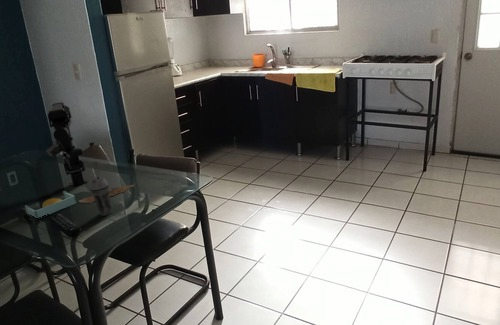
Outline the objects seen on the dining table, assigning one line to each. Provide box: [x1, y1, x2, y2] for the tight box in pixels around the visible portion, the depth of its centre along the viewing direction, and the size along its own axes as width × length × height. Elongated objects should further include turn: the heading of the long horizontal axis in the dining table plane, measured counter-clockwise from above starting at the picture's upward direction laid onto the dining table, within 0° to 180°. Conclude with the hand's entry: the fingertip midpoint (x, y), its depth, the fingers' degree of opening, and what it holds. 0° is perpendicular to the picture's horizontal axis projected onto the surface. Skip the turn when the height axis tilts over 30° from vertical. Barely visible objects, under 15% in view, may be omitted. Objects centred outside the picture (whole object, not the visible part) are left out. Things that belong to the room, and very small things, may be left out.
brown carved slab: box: [77, 184, 135, 204], centre depth 188 cm, size 26×11×1 cm, turn 122°
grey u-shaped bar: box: [24, 190, 78, 219], centre depth 178 cm, size 10×18×4 cm, turn 138°
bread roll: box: [41, 197, 62, 208], centre depth 180 cm, size 8×9×4 cm
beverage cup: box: [89, 167, 112, 217], centre depth 164 cm, size 7×7×20 cm
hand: (72, 168), depth 191 cm, fingers closed
